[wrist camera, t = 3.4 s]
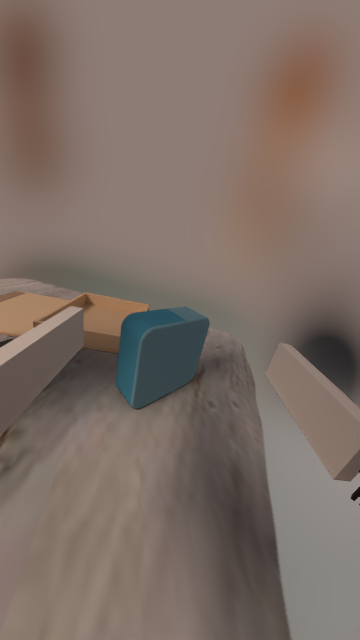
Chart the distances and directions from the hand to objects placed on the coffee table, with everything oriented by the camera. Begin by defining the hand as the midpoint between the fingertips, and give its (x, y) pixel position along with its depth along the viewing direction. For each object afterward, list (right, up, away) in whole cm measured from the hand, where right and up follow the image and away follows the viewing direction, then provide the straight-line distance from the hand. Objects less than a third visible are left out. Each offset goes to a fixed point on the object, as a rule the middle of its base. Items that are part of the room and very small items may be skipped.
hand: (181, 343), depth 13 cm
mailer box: (-26, +2, +29) cm, 39 cm away
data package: (-4, -9, +17) cm, 19 cm away
